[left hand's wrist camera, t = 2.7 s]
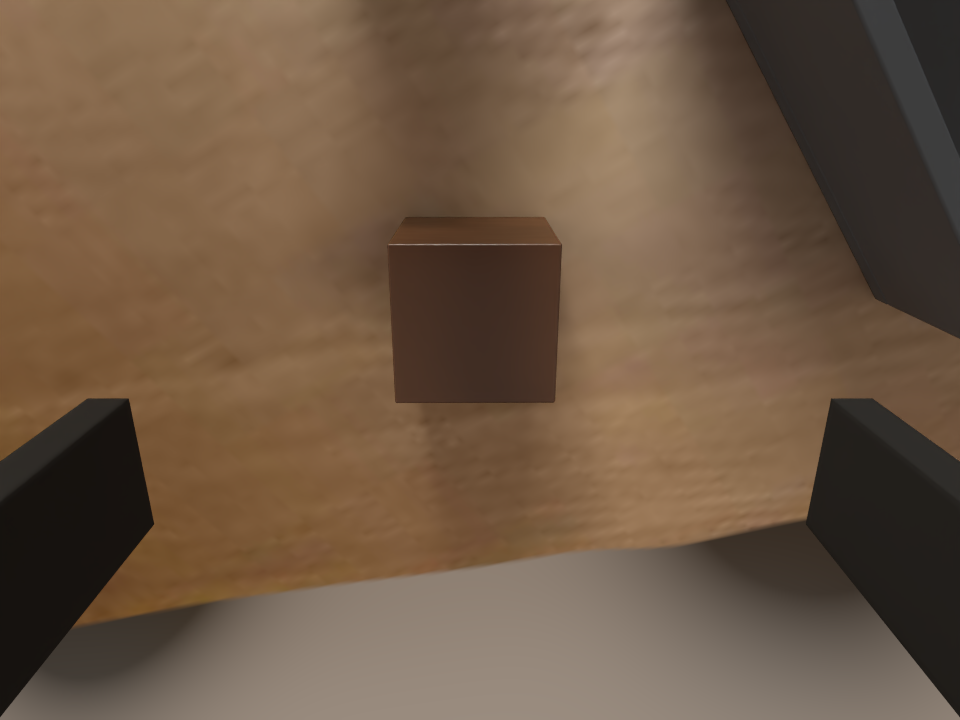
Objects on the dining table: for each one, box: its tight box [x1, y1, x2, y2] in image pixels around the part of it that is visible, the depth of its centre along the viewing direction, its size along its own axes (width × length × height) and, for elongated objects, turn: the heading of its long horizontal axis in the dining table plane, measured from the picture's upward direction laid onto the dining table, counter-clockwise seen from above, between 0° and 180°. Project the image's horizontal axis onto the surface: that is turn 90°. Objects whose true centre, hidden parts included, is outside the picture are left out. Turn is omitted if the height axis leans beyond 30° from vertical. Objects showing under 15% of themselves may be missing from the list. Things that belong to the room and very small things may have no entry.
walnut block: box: [388, 217, 562, 403], centre depth 22 cm, size 5×5×5 cm
